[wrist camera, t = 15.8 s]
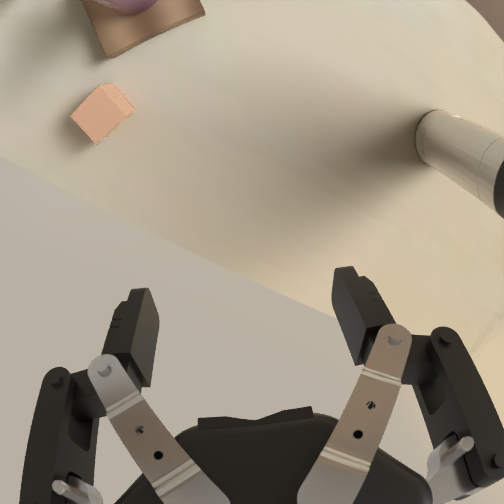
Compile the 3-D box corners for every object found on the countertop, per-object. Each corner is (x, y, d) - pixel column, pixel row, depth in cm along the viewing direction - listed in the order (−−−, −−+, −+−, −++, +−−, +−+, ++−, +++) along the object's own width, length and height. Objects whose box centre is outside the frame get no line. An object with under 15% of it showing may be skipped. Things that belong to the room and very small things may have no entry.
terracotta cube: (112, 82, 31) (99, 85, 27) (136, 109, 34) (125, 115, 30) (86, 109, 33) (70, 116, 28) (109, 135, 35) (96, 144, 31)
